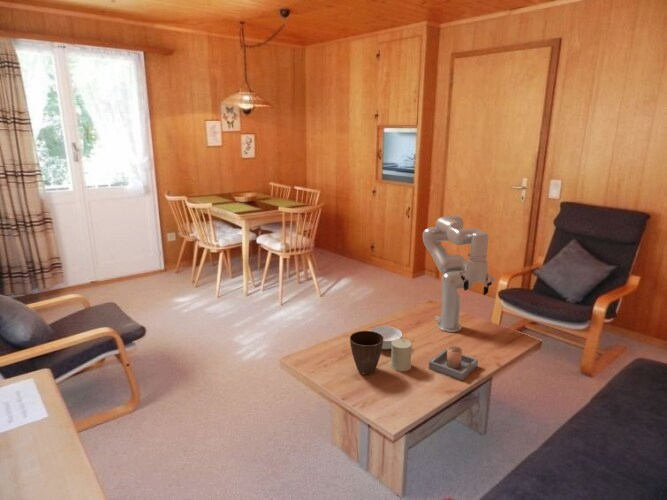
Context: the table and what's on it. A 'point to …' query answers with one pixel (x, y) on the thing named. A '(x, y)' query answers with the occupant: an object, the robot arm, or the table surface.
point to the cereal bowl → (387, 335)
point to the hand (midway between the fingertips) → (475, 291)
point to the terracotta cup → (454, 357)
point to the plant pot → (366, 350)
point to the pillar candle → (401, 354)
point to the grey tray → (441, 366)
